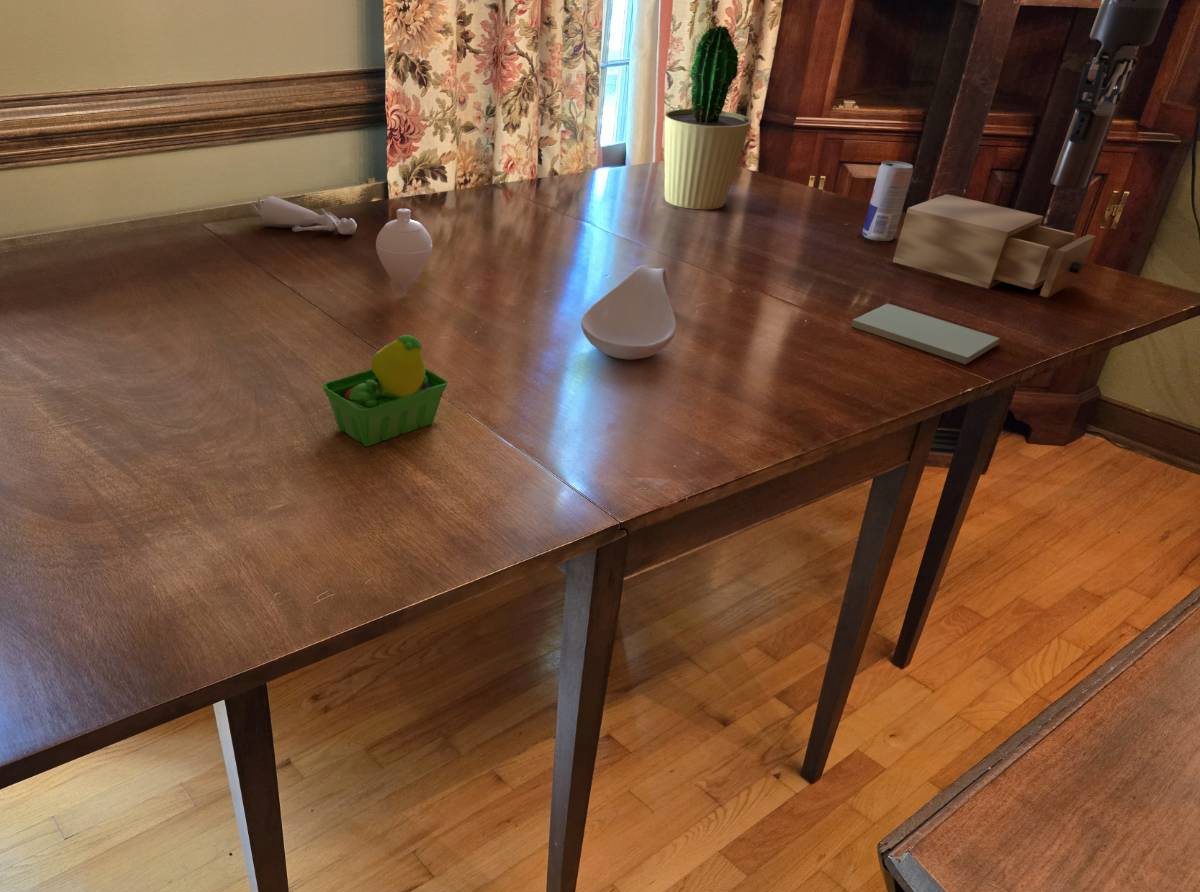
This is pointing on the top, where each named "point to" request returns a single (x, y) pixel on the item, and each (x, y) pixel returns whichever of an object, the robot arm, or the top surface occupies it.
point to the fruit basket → (387, 394)
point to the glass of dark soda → (1082, 151)
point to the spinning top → (404, 249)
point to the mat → (926, 333)
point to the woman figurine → (299, 217)
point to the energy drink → (887, 200)
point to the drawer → (1043, 259)
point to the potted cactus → (705, 129)
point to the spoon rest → (632, 316)
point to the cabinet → (959, 238)
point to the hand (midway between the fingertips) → (1084, 139)
